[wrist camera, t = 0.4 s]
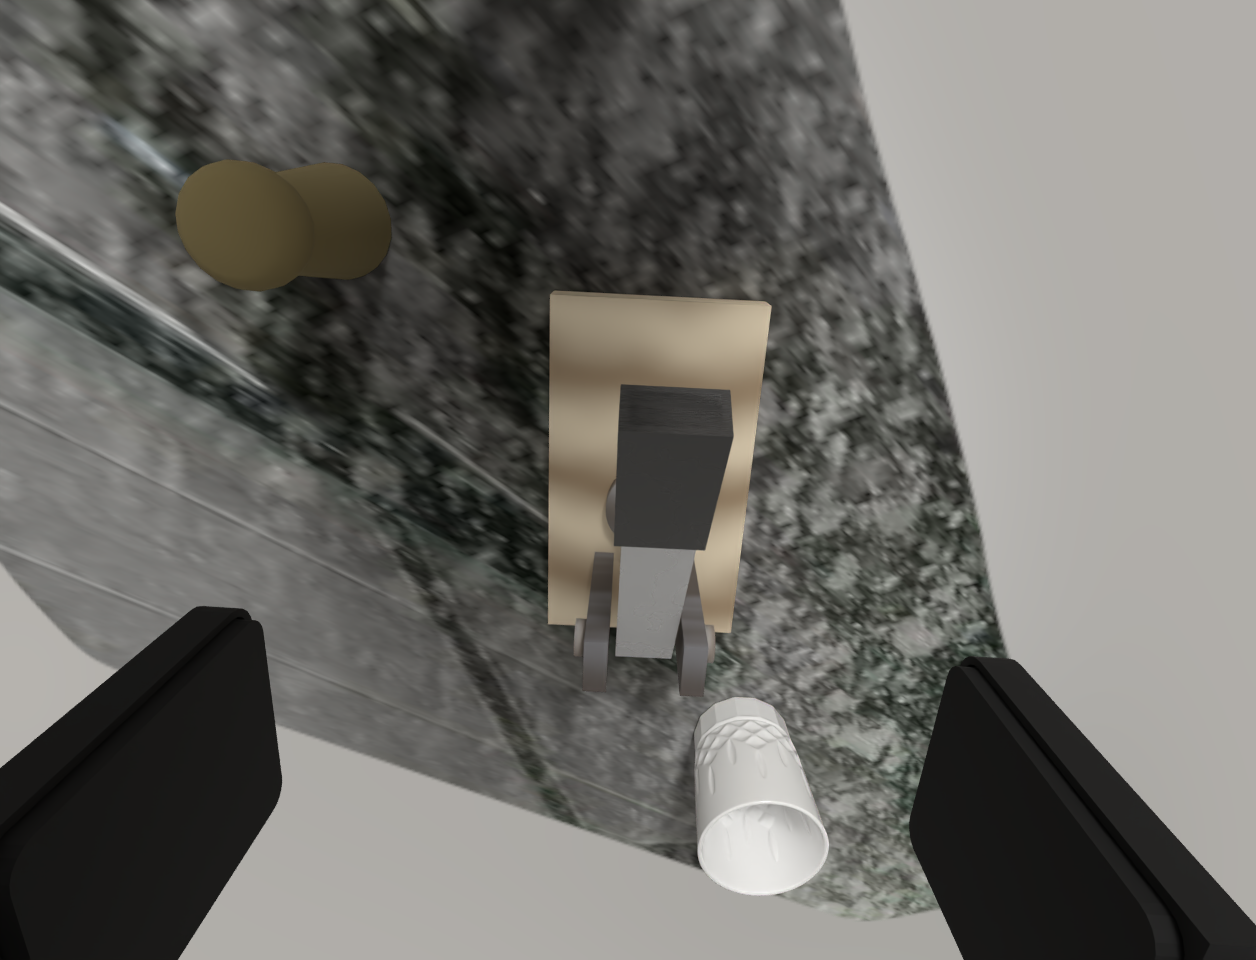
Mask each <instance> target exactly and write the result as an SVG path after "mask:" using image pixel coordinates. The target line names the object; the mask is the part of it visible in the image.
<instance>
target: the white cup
mask: <svg viewBox="0 0 1256 960" xmlns="http://www.w3.org/2000/svg"><path fill="white" fill-rule="evenodd" d="M694 740H695V766H694V773H695V808H696V828H697V851H698V859H699V862H700V865H701V867H702V869H703V870H704V872H705V873H706V874H707V875H708V877H709V878H710V879H711V880H713V881H714V882H715V883H717V884H718V885H720V886H721V887H723V888H725V889H728V890H730V891H733V892H736V893H740V894H745V895H754V896H766V895H774V894H779V893H783V892H787V891H790V890H792V889H795V888H797V887H799V886H801V885H803V884H804V883H806V882H807V881H809V880H810V879H811V878H812V877H814V876H815V875H816V874H817V872H818V871H819V870H820V869H821V867H822V866H823V864H824V862H825V860H826V858H827V855H828V849H829V842H828V836H827V833H826V830H825V828H824V825H823V822H822V819H821V817H820V814H819V811H818V808H817V806H816V803H815V800H814V797H813V794H812V791H811V789H810V786H809V783H808V780H807V777H806V775H805V772H804V769H803V767H802V765H801V762H800V759H799V756H798V754H797V751H796V749H795V747H794V745H793V743H792V741H791V739H790V736H789V733H788V730H787V727H786V724H785V721H784V719H783V718H782V717H781V715H780V714H779V713H778V712H777V711H776V709H775V708H774V707H773V706H772V705H770V704H767V703H765V702H763V701H761V700H758V699H756V698H747V697H733V698H730V699H727V700H724V701H721V702H718V703H715V704H714V705H712V706H711V707H710V708H709V709H708V710H707V711H706V712H705V713H703V714H702V715H701V716H700V718H699V721H698V724H697V726H696V729H695V732H694Z"/></svg>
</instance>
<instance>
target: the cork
mask: <svg viewBox="0 0 1256 960" xmlns="http://www.w3.org/2000/svg"><path fill="white" fill-rule="evenodd" d="M176 221H177V228H178V233H179V235H180V237H181V240H182V242H183V244H184V247H185V249H186V250H187V252H188V253H189V254H190V256H191V257H192V258H193V259H194V261H195V262H196V263H197V265H198V266H199V267H200V268H201V269H202V270H204V271H205V272H206V273H207V274H209V275H210V276H211V277H213V278H214V279H215V280H217V281H219V282H221V283H224V284H226V285H229V286H231V287H234V288H237V289H241V290H251V291H264V290H269V289H273V288H277V287H281V286H284V285H286V284H287V283H289V282H290V281H292V280H293V279H295V278H296V277H297V276H309V277H321V278H333V279H346V280H349V279H354V278H358V277H362V276H365V275H366V274H368V273H369V272H371V271H372V270H374V269H375V268H377V267H378V266H379V264H380V263H381V261H382V260H383V258H384V257H385V256H386V254H387V251H388V248H389V244H390V241H391V218H390V215H389V212H388V209H387V206H386V203H385V200H384V199H383V197H382V196H381V194H380V193H379V191H378V190H377V188H376V187H375V185H374V184H373V183H371V182H370V181H369V180H368V179H367V178H366V177H364V176H363V175H362V174H361V173H360V172H358V171H356V170H354V169H351V168H349V167H347V166H345V165H343V164H335V163H325V162H324V163H319V164H314V165H309V166H304V167H299V168H294V169H289V170H285V171H280V172H274V171H272V170H270V169H268V168H265V167H263V166H261V165H259V164H256V163H253V162H246V161H236V160H223V161H219V162H215V163H211V164H208V165H205V166H203V167H201V168H200V169H199V170H197V171H196V172H195V173H193V174H192V175H191V176H190V177H188V179H187V180H186V182H185V184H184V185H183V187H182V189H181V191H180V192H179V196H178V202H177V208H176Z"/></svg>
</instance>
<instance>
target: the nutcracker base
mask: <svg viewBox="0 0 1256 960" xmlns="http://www.w3.org/2000/svg"><path fill="white" fill-rule="evenodd" d="M770 314H771V305H769V304H768V303H767V302H765V301H748V300H728V299H709V298H690V297H671V296H652V295H632V294H613V293H594V292H575V291H556V290H554V291H553V292H552V293H551V294H550V382H549V544H548V624H557V625H575V634H574V656H577V657H583V689H582V691H593V692H606V681H607V666H608V650H609V634H610V627H617V614H618V595H619V575H620V554H621V546H614V524H615V497H616V469H617V442H618V421H619V404H620V386H621V384H626V385H645V386H665V387H685V388H704V389H724V390H730V391H731V405H732V419H733V433H734V438H733V442H732V446H731V450H730V454H729V458H728V462H727V466H726V470H725V474H724V478H723V482H722V486H721V490H720V494H719V497H718V501H717V505H716V509H715V513H714V517H713V521H712V525H711V529H710V533H709V537H708V541H707V545H706V549H705V551H703V550H696V553H695V557H694V561H693V566H692V570H691V574H690V579H689V583H688V587H687V592H686V596H685V600H684V605H683V609H682V613H681V618H680V622H679V626H678V631H677V635H676V639H675V647H676V658H677V669H678V681H679V692H680V696H698V697H703V694H704V685H705V676H706V667H707V663H713V661H714V655H715V632H723V633H731V626H732V618H733V610H734V602H735V594H736V586H737V578H738V570H739V562H740V554H741V546H742V538H743V530H744V522H745V514H746V506H747V498H748V490H749V482H750V474H751V466H752V458H753V450H754V442H755V434H756V426H757V418H758V410H759V402H760V394H761V386H762V378H763V370H764V362H765V354H766V346H767V338H768V330H769V322H770Z"/></svg>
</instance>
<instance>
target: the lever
mask: <svg viewBox="0 0 1256 960" xmlns="http://www.w3.org/2000/svg"><path fill="white" fill-rule="evenodd" d="M733 438H734V433H733V419H732V405H731V391H730V390H724V389H704V388H685V387H665V386H645V385H626V384H621V386H620V404H619V421H618V442H617V469H616V497H615V524H614V546H621V554H620V575H619V595H618V614H617V633H616V653H615V656H625V657H646V658H667V659H671V657H672V652H673V648H674V644H675V639H676V635H677V631H678V626H679V622H680V618H681V613H682V609H683V605H684V600H685V596H686V592H687V587H688V583H689V579H690V574H691V570H692V566H693V561H694V557H695V553H696V550H703V551H705V549H706V545H707V541H708V537H709V533H710V529H711V525H712V521H713V517H714V513H715V509H716V505H717V501H718V497H719V494H720V490H721V486H722V482H723V478H724V474H725V470H726V466H727V462H728V458H729V454H730V450H731V446H732V442H733Z"/></svg>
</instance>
